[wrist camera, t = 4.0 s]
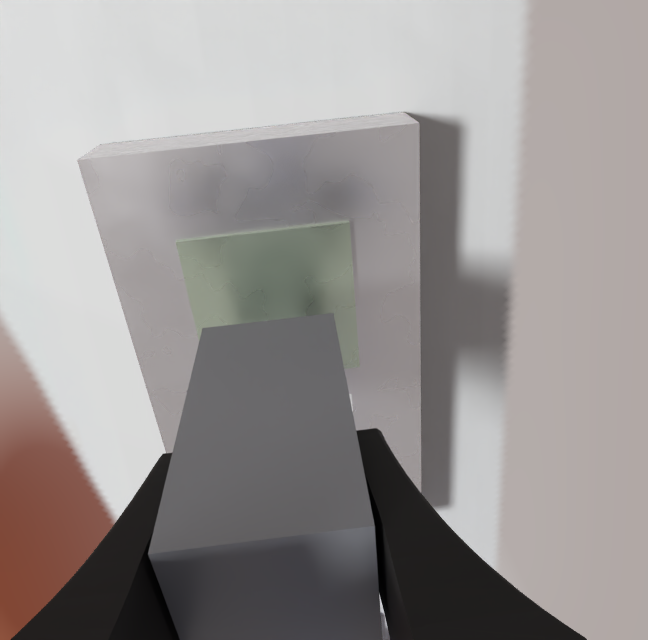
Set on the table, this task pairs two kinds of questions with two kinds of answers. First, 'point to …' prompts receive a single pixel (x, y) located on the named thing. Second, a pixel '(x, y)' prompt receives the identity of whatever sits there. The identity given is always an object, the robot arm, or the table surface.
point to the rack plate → (272, 252)
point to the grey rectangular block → (268, 493)
